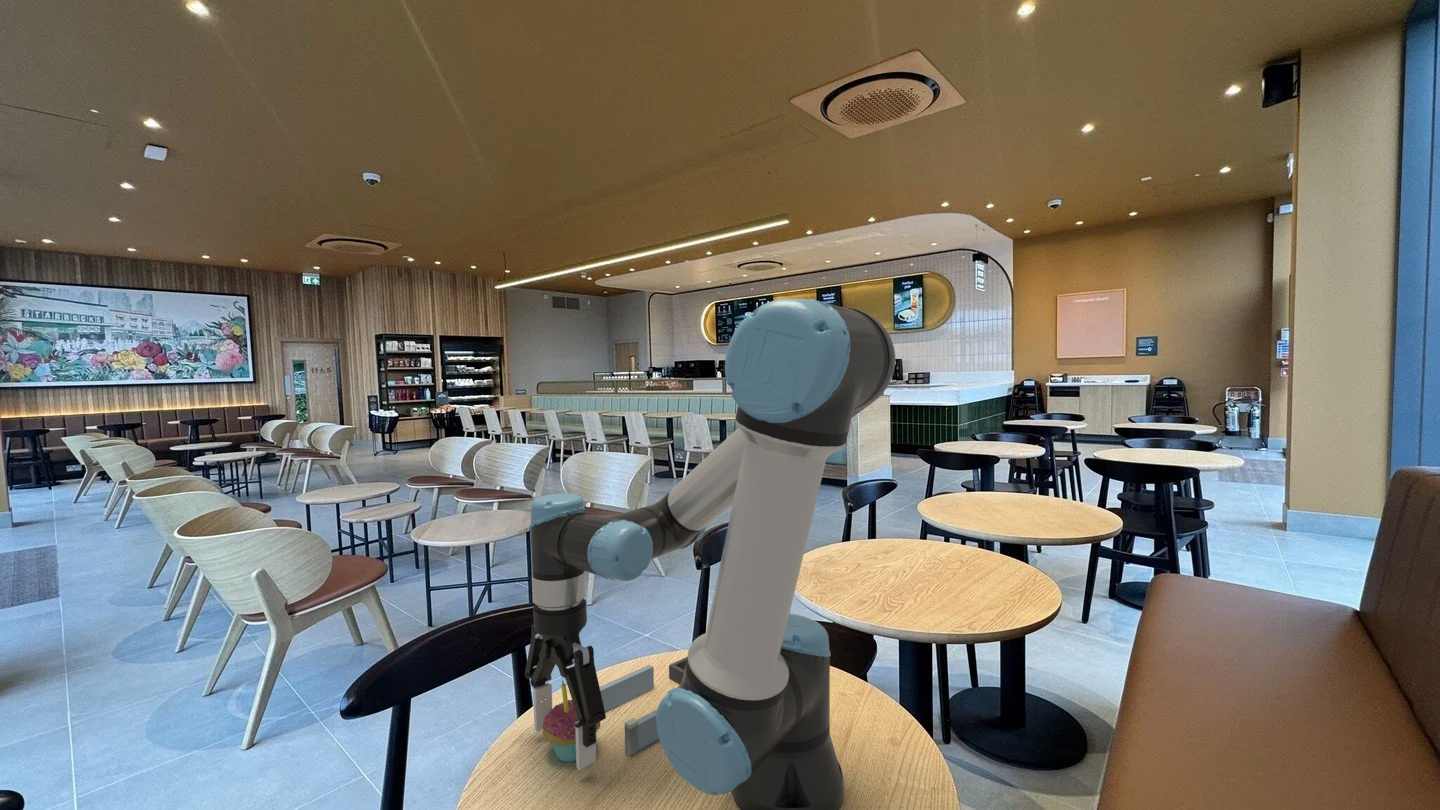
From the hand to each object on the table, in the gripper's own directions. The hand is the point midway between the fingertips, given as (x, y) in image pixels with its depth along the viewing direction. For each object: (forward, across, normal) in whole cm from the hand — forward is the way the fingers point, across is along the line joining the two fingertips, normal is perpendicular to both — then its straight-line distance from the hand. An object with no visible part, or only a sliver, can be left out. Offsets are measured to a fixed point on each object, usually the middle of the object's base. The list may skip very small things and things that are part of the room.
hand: (563, 745), depth 86 cm
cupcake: (+2, 0, -2) cm, 3 cm away
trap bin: (+2, 0, -29) cm, 29 cm away
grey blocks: (+2, 0, -14) cm, 14 cm away
